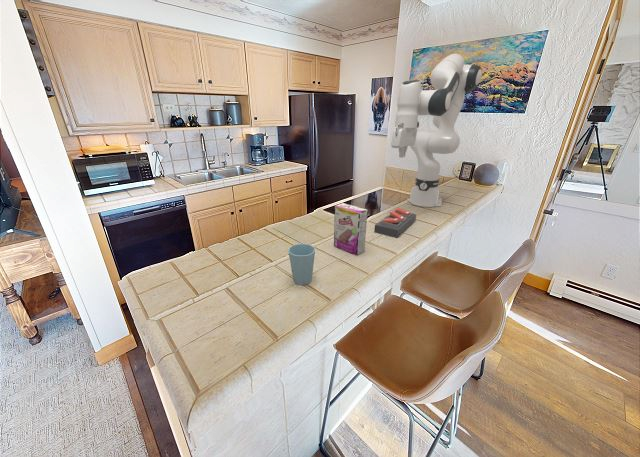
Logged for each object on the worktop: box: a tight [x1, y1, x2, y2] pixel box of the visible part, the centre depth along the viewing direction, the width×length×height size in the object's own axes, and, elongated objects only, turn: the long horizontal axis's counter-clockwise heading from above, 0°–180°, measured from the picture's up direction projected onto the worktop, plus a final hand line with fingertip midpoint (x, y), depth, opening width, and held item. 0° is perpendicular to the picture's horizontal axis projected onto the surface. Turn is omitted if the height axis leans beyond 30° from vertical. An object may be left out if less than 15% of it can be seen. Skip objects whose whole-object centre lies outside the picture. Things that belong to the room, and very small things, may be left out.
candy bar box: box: [333, 202, 369, 256], centre depth 96 cm, size 11×5×16 cm, turn 47°
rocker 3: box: [394, 207, 411, 215], centre depth 123 cm, size 3×6×1 cm, turn 54°
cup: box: [287, 243, 316, 286], centre depth 78 cm, size 8×8×10 cm
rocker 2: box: [389, 210, 405, 220], centre depth 118 cm, size 3×6×1 cm, turn 55°
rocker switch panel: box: [373, 210, 417, 239], centre depth 120 cm, size 28×10×4 cm, turn 144°
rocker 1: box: [383, 218, 399, 223], centre depth 113 cm, size 3×6×1 cm, turn 54°
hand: (402, 157), depth 117 cm, fingers closed
